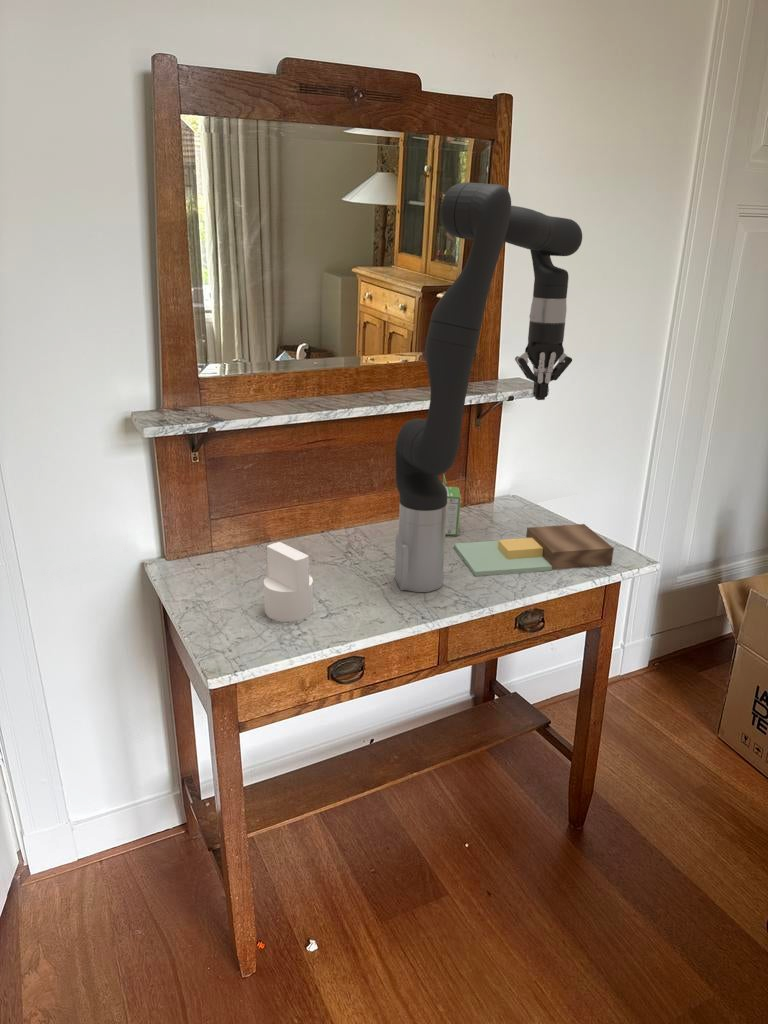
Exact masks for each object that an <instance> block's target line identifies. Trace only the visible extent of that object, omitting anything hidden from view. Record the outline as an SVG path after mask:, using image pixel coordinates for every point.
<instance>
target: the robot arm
mask: <svg viewBox="0 0 768 1024" xmlns="http://www.w3.org/2000/svg"><path fill="white" fill-rule="evenodd" d="M511 198H512V197H511V194H510V192H509V190H508V188H506V186H504V185H501V184H496V183H495V184H494V183H484V182H483V183H481V182H459V183H456V184H454V185H452V186H451V187H450V188H448V190H446V191H445V194H444V196H443V198H442V201H441V205H440V218H441V223H442V226H443V228H444V230H445V231H447V232H448V234H450V235H451V236H453V237H456V238H459V239H463V240H472V245H471V249H470V251H469V254H468V257H467V260H466V263H465V265H464V267H463V269H462V271H460V273H459V275H458V276H457V278H456V279H455V280H454V282H453V283H452V284H451V285H450V286H449V287H448V289H447V290H446V291H445V293H443V294H442V296H441V297H440V299H439V300H438V302H437V303H436V305H435V306H434V308H433V310H432V313H431V317H430V321H429V325H428V331H427V336H426V340H425V346H424V347H425V348H424V350H425V351H424V353H425V363H426V369H427V374H428V375H427V376H428V381H429V387H430V400H429V408H428V412H427V417H426V418H420V417H419V418H413V419H410V420H408V421H406V422H405V423H404V424H403V426H402V427H401V428H400V430H399V432H398V433H397V437H396V442H395V450H394V451H395V454H394V455H395V458H394V461H395V485H396V487H397V491H398V495H399V507H398V508H399V510H398V534H396V535H395V548H394V549H395V550H394V551H395V552H394V553H395V554H394V555H395V557H394V559H395V560H394V579H395V581H396V583H397V585H398V587H399V588H400V590H401V591H410V592H416V593H428V592H434V591H437V590H438V589H440V588H441V587H442V586H443V581H444V580H443V579H444V565H445V564H444V563H445V562H444V561H445V550H446V549H445V546H446V535H445V531H446V513H447V490H446V488H445V487H444V486H445V484H444V485H443V481H441V479H440V477H439V476H441V475H443V473H444V474H445V473H446V472H448V471H449V470H450V468H452V466H453V464H454V463H455V461H456V459H457V455H458V452H459V448H460V441H461V434H462V424H463V419H464V410H465V404H466V403H465V402H466V397H467V394H468V393H467V392H468V388H469V383H470V378H471V372H472V368H473V364H474V363H473V362H474V360H475V357H476V356H475V355H476V352H477V348H478V344H479V339H480V335H481V329H482V326H483V319H484V315H485V310H486V305H487V302H488V295H489V292H490V288H491V283H492V280H493V276H494V274H495V271H496V270H495V269H496V267H497V263H498V260H499V258H500V257H499V256H500V254H501V251H502V247H503V245H504V242H505V243H507V244H510V245H513V246H515V247H516V246H517V247H518V248H519V247H520V248H523V249H526V250H530V255H531V261H532V267H533V275H534V280H533V281H534V282H533V289H532V290H533V291H532V292H533V294H532V300H531V301H532V302H531V305H530V312H529V326H528V334H527V345H526V347H525V350H524V353H521V355H518V356H516V357H515V358H514V361H515V362H516V364H517V365H518V367H519V369H520V370H521V371H522V373H523V375H524V377H526V379H528V380H529V381H532V382H533V390H532V395H533V397H534V399H535V400H537V401H545V400H546V398H547V397H548V396H549V395H548V394H549V393H548V392H549V384H550V382H553V381H557V380H558V379H559V378H560V377H561V375H562V374H563V373H564V372H565V371H566V369H567V368H568V367H569V366H570V364H571V363H572V362H573V358H572V357H571V356H568V355H567V354H566V353H565V349H564V346H563V345H564V344H563V343H564V339H565V337H564V336H565V330H566V328H565V327H566V317H567V296H568V287H569V272H568V271H567V270H566V269H564V268H561V267H558V266H555V265H554V264H553V261H552V258H551V256H553V257H570V256H571V255H573V254H575V253H577V251H578V250H579V249H580V247H581V245H582V242H583V230H582V228H581V226H580V224H579V223H577V222H576V221H575V220H573V219H571V218H565V217H560V216H551V215H546V214H545V213H542V212H540V211H536V210H535V209H531V208H527V207H522V206H517V205H512V199H511ZM529 361H530V363H531V365H532V369H531V368H530V366H529V364H528V363H529ZM557 362H558V363H557ZM556 363H557V364H556ZM555 364H556V365H555Z"/></svg>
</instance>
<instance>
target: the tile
mask: <svg viewBox="0 0 768 1024" xmlns="http://www.w3.org/2000/svg"><path fill="white" fill-rule="evenodd" d="M497 541H498V549H499V550H500V551H501V553H502V554H503V555H504V556H505V557H506V558H507V559H518V558H531V557H542V555H543V548H542V547H541V546H540V545H539V544H538V543H537V542H536V541H535V540H534V539H533V538H526V537H521V538H520V537H519V538H507V539H505V538H504V539H498V540H497Z"/></svg>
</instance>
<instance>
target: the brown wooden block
mask: <svg viewBox="0 0 768 1024" xmlns="http://www.w3.org/2000/svg"><path fill="white" fill-rule="evenodd" d="M525 538H533V539H534V540H535V541H536V542H537V543H538V544H539V545H540V546H541V547H542V548H543V555H542V557H543V558H544V559H545V560H546V561H547V562H548V563H549V564H550V565H551V566H552V570H563V569H575V568H576V569H577V568H589V567H602V566H611V565H612V562H613V555H614V547H613V546H612V545H610V543H608V542H607V541H606V540H604V539H603V538H602V537H601V536H600V535H598V534H597V533H596V532H595V531H593V530H592V528H590V527H589V526H587V525H586V524H585V523H580V524H579V523H578V524H566V525H564V524H563V525H561V524H560V525H551V526H550V525H549V526H545V525H544V526H532V527H529V526H528V527H527V528H526V535H525Z"/></svg>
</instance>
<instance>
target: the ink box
mask: <svg viewBox="0 0 768 1024" xmlns="http://www.w3.org/2000/svg"><path fill="white" fill-rule="evenodd" d="M442 476H443V477H442V484H443V485H444V487H445V488H446V490H447V513H446V531H445V536H449V535H450V536H451V537H458V536H459V525H460V516H461V515H460V514H461V500H462V496H461V494H460V493H461V492H460V487H457V486H447V480H446V475H445V473H443V474H442ZM450 536H449V537H450Z"/></svg>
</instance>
